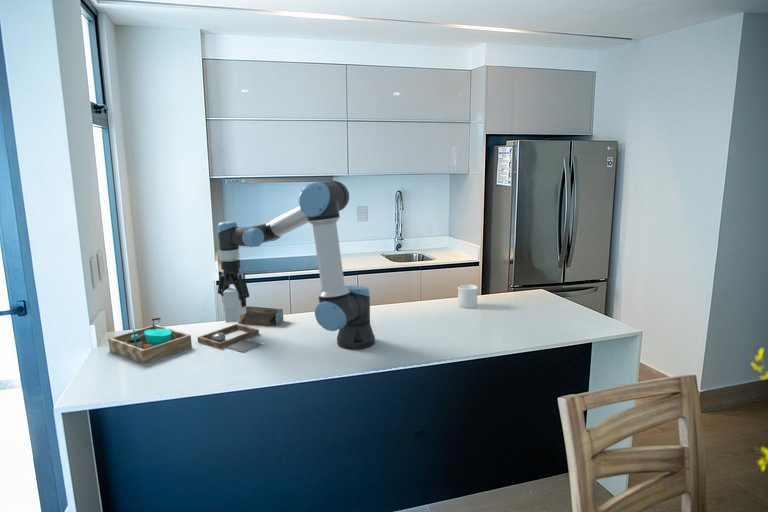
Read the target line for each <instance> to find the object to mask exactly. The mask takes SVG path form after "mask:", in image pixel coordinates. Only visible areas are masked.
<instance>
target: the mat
mask: <svg viewBox="0 0 768 512" xmlns="http://www.w3.org/2000/svg"><path fill="white" fill-rule="evenodd" d="M262 345H263V343H261V342H257V341H254V340H250V339H248V338H247V339H244V340H242V341H239V342H237V343H234V344H231V345H229V346H226V347H225V348H227V349H230V350H233V351H236V352H239V353H242V354H244V353H245V352H248V351H251V350H254V349H256V348H258V347H260V346H262Z"/></svg>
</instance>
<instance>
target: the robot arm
mask: <svg viewBox="0 0 768 512" xmlns="http://www.w3.org/2000/svg"><path fill="white" fill-rule="evenodd" d="M349 201H350V192H349V190H348V188H347V186H346V185H345V184H343V183H342V182H341V181H337V180H328V181H316V182H312V183H308V184H306V185H305V186H304V188H302V190H300V193H299V197H298V206H296V207H294V208H293V209H290V210H288V211H286V212H285V213H283V214H281V215H279V216H277V217H275V218H273V219H272V220H270V221H267V222H266V223H263V224H258V225H252V226H248V227H244V226H243V227H239V226H238V224H237V222H236V221H231V220H230V221H222V222H219V223H218V224H217V235H218V236H217V237H218V242H219V243H218V244H219V256H220V257H219V259H220V266H221V271H218V272H217V273H218V284H217V285H218V287H217V293H218V295H220V297H221V302H222V307H223V312H225V308H224V297H223V292H224V291H225V290H226V289H227V288H230V285H231V283H232V285H233V286H234V287H235V288H236V290H237V291H238V295H239V297H240V299H239V309H240V315H243V314H246V306H247V298H250V293H249V289H248V286H247V285H248V284H247V281H246V274H245V273H240V269H241V260H240V248H239V247H248V248H254V247H255V248H256V247H257V248H258V247H261V245H262V244H265V243H268V242H273V241H277V240H279V239H280V238H281V237H282V236H283V235H285V234H287V233H290V232H292V231H294V230H296V229H298V228H300V227H302V226H304V225H306V224H308V223H309V224H310V225H311V226H312V230H313V236H314V237H313V238H314V244H315V252H316V258H317V264H318V265H317V266H318V273H319V279H320V286H321V287H320V288H321V289H320V292H319V293H318V295H317V296H318V301H319V302H318V304H317V305H316V306H315V309H314V317H315V320H316V322H317V323H318V324H319V326H320V327H322V329H323V330H325V331H330V332H336V331H338V333H337V337H336V344H337V346H339V347H341V348H343V349H347V350H362V349H366V348H370V347H372V346H373V345H375V343H376V340H375V339H376V337H375V334H374V332H373V328H372V325H371V295H370V290H369V288H368V287H366V286H362V285H345V279H344V278H345V277H344V271H343V262H342V255H341V248H340V240H339V233H338V232H339V231H338V227H337V222H338V221H339V219H340V216H341V215H340V211H342V210H344V209H345V208H346V207H347V206H348V204H349Z"/></svg>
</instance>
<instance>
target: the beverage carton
mask: <svg viewBox="0 0 768 512" xmlns="http://www.w3.org/2000/svg"><path fill="white" fill-rule="evenodd" d="M282 322H284V310H283V309H282V308H272V307H260V306H250V305H249V306H248V305H246V314H245V317H244V318H243V319H242V321H241V322H237V324H240V325H244V324H245V325H254V326H255V325H258V326H259V325H260V326H271V327H277V326H279V325H280V324H281V323H282Z"/></svg>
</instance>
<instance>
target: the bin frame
mask: <svg viewBox="0 0 768 512" xmlns="http://www.w3.org/2000/svg"><path fill="white" fill-rule="evenodd" d="M236 330H239V331H241V332H245V333H243V334H242V333H241V334H240V335H237V336H235V337H231V338H229V339H225V340H226V341H223V342H217V341H213V340H212V335H213V334H215V333H225V334H226V333H230V332H232V331H233V332H234V331H236ZM257 335H260V329H258V328H255V327H252V326H247V325H244V324H240V323H235V324H232V325H230V326H225V327H223V328H221V329H217V330H215V331H211V332H209V333H206V334H203V335H200V336H197V343H201V344H204V345H207V346H210V347H214V348H217V349H220V350H221V349H222V348H226V346H229V345H232V344H234V343H237V342H239V341H242V340H245V339H247V340H248V339H250V338H252V337H255V336H257Z"/></svg>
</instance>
